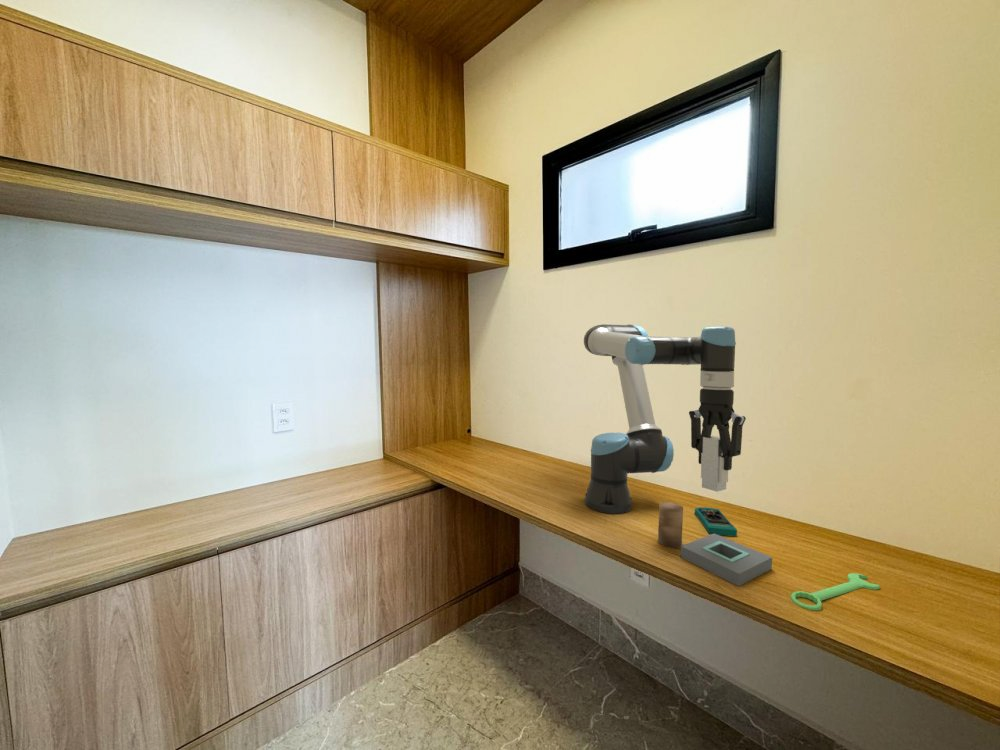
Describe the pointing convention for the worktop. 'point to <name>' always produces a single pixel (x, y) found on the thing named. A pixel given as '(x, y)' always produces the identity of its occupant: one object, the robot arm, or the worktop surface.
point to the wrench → (833, 591)
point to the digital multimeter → (715, 521)
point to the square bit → (711, 464)
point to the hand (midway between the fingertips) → (714, 479)
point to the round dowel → (670, 525)
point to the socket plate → (726, 558)
